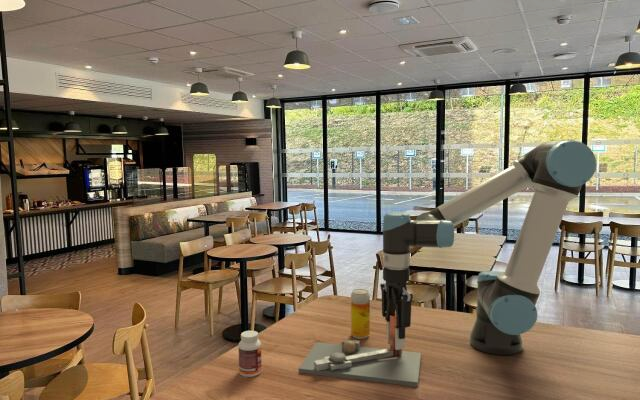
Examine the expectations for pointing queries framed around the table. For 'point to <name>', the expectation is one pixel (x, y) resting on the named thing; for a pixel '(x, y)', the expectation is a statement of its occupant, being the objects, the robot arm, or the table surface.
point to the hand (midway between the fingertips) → (395, 345)
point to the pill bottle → (249, 354)
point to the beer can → (360, 313)
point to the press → (365, 364)
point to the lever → (351, 359)
